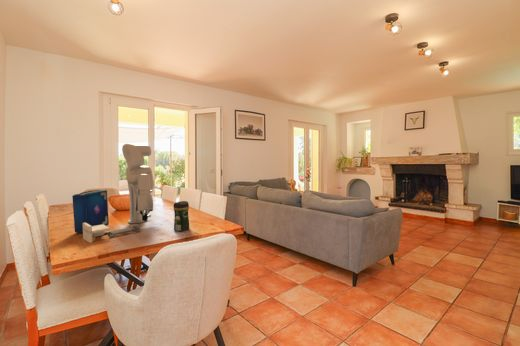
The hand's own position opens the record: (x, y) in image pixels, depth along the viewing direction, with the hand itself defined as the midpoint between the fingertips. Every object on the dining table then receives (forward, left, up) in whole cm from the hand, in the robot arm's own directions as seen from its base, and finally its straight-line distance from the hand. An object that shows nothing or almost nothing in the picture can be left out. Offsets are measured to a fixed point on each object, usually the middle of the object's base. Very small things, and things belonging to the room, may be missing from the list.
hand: (145, 220), depth 167 cm
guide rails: (+14, -1, -6) cm, 15 cm away
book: (+24, -25, -6) cm, 35 cm away
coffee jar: (-15, +19, -6) cm, 25 cm away
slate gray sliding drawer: (+12, -1, -6) cm, 14 cm away
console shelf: (+27, -1, -6) cm, 27 cm away
